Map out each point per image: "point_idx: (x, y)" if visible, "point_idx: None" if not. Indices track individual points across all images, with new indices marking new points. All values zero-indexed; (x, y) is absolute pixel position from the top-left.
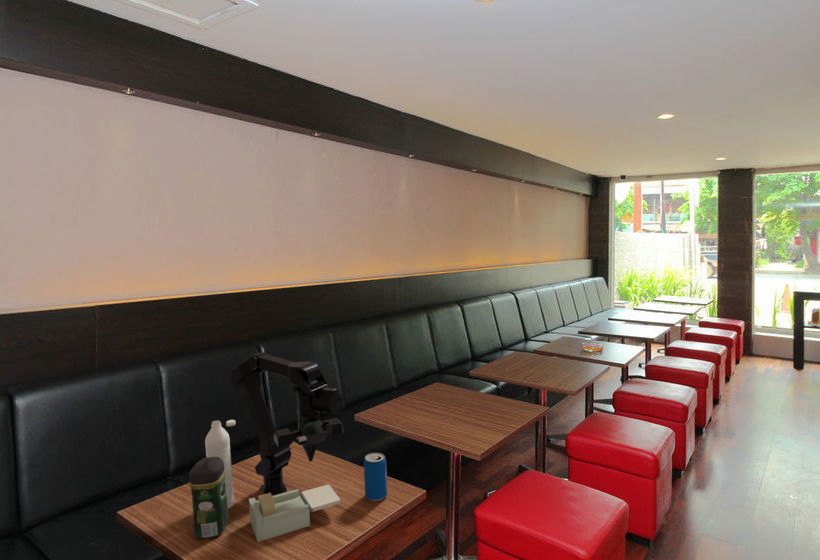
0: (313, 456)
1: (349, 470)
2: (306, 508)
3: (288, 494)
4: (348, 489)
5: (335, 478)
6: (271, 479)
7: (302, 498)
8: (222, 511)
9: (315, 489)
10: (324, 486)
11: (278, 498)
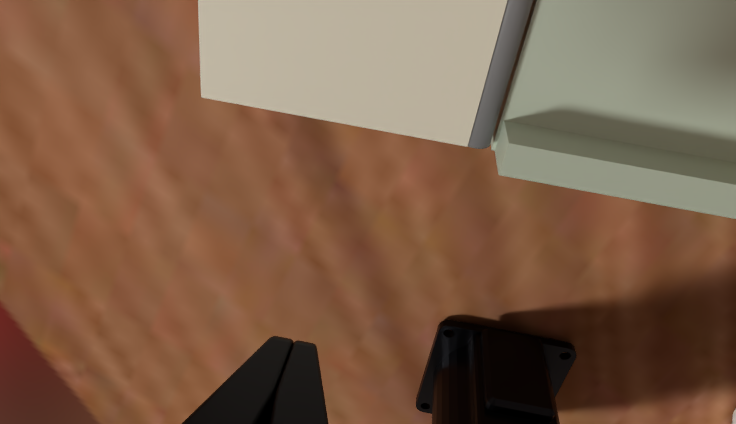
0: (230, 381)
1: (25, 267)
2: None
3: (617, 159)
4: (79, 76)
5: (129, 248)
6: (547, 422)
7: (518, 47)
8: None
9: (344, 99)
10: (251, 90)
11: (715, 171)
